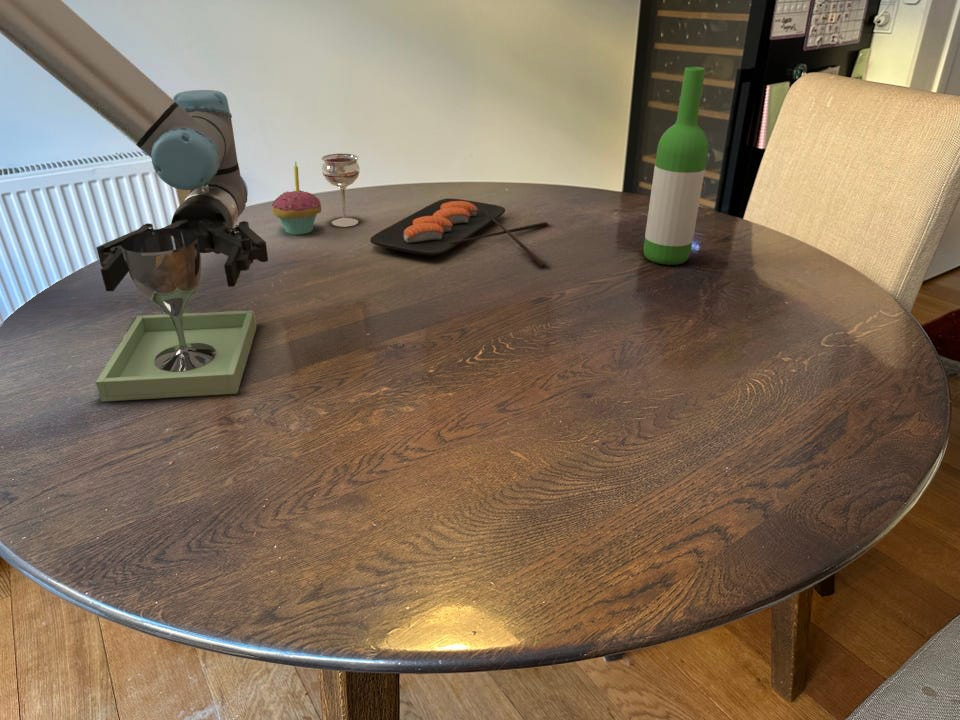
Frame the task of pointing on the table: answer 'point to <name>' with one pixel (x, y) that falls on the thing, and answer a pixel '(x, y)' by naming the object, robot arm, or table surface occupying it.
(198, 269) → the wine glass
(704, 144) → the wine bottle
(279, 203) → the cupcake
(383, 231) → the sushi plate
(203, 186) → the robot arm
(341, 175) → the wineglass
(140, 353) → the tray
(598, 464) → the table surface
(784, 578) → the table surface
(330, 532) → the table surface
